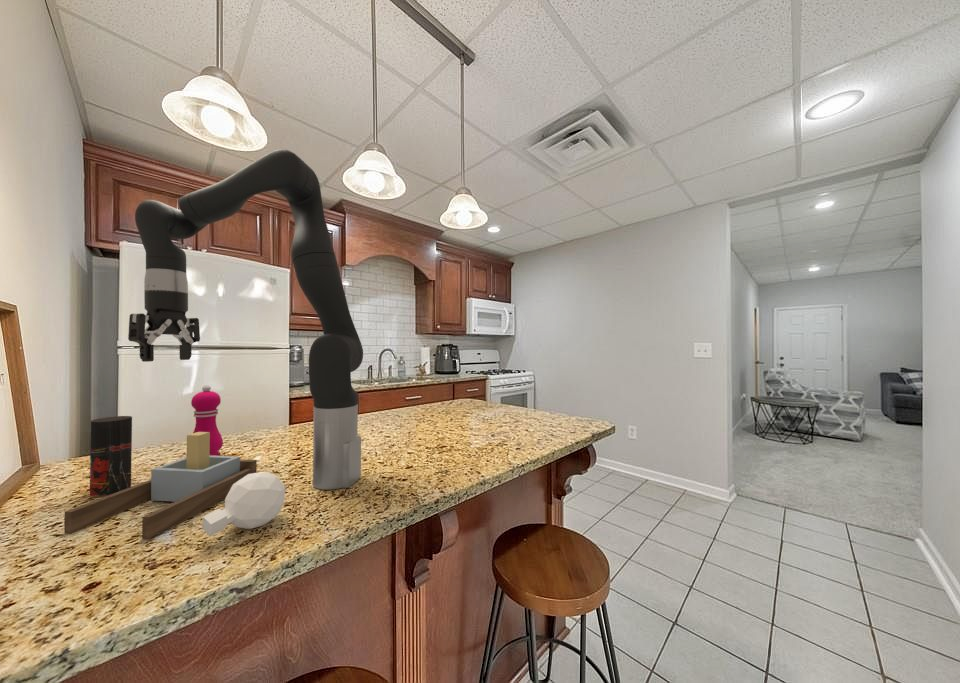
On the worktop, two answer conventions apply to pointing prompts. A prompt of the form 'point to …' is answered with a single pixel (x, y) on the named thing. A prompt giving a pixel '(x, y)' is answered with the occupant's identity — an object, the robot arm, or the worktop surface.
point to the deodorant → (110, 455)
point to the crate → (192, 470)
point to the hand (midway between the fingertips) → (167, 360)
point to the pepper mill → (208, 417)
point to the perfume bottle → (248, 503)
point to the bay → (159, 518)
